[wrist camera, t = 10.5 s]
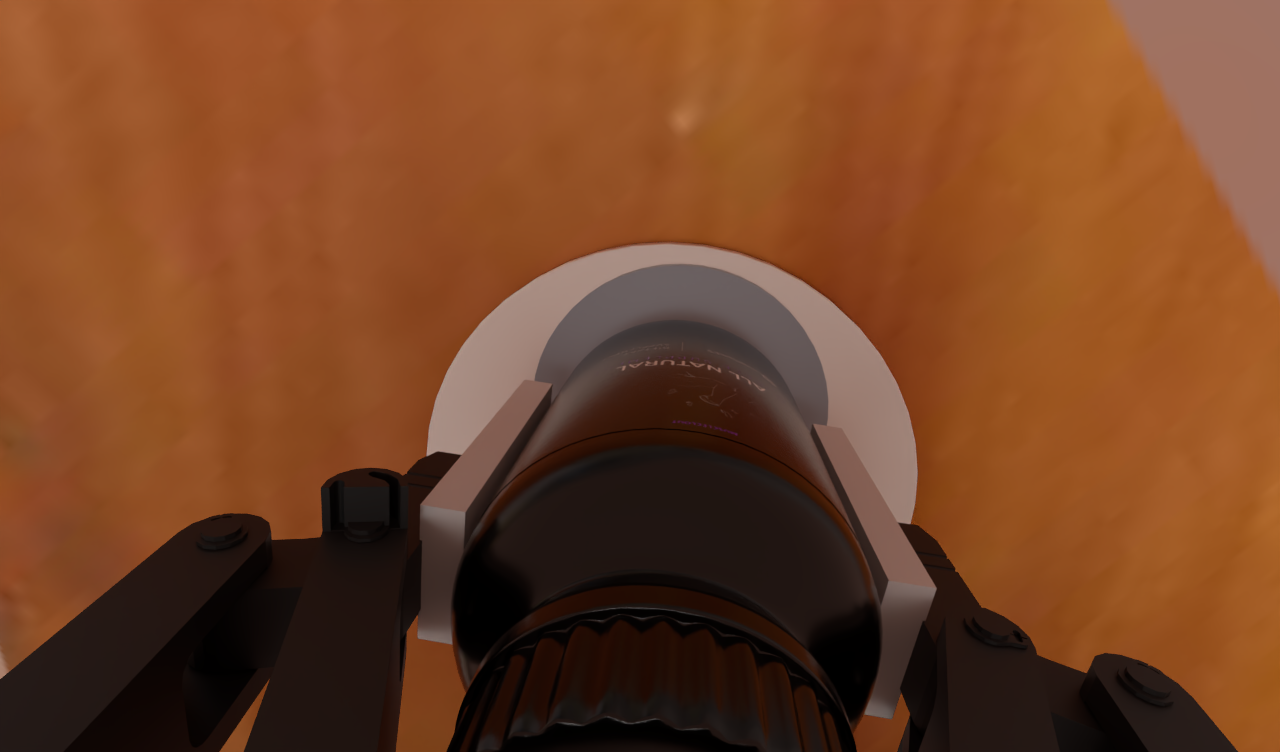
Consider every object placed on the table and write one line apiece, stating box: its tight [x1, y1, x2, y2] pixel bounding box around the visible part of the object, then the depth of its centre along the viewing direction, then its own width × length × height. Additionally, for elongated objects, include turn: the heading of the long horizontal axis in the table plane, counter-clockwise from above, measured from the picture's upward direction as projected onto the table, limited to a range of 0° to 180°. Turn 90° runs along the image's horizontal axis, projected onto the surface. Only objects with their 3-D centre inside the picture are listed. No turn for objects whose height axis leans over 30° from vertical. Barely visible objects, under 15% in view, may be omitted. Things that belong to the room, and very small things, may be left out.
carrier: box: [427, 242, 918, 524], centre depth 17 cm, size 16×16×8 cm
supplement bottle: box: [447, 320, 883, 752], centre depth 12 cm, size 7×7×12 cm
